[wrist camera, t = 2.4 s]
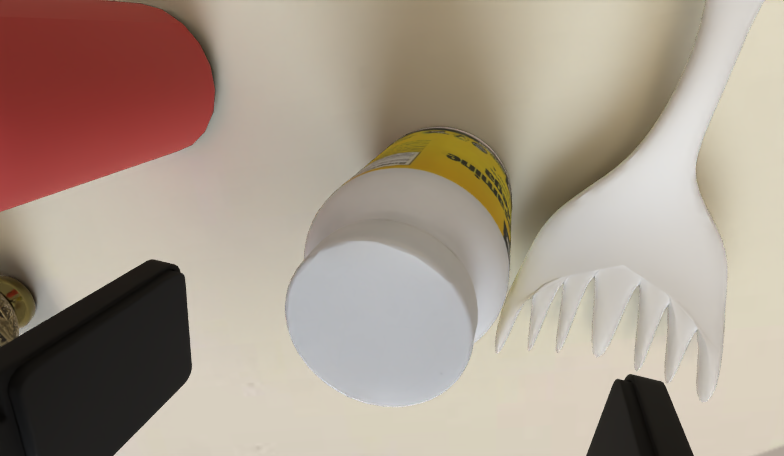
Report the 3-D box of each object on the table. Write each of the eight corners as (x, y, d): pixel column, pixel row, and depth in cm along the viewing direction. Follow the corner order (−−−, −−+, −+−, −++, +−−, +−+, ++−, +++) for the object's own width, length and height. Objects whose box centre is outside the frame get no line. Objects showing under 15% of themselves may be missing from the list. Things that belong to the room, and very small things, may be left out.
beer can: (217, 10, 20) (-115, -18, 10) (226, 158, 23) (-29, 266, 12) (89, -2, 22) (-336, -39, 11) (110, 140, 24) (-214, 224, 14)
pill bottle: (532, 231, 21) (548, 410, 11) (407, 271, 23) (325, 450, 13) (480, 98, 19) (443, 164, 9) (351, 155, 21) (210, 257, 11)
